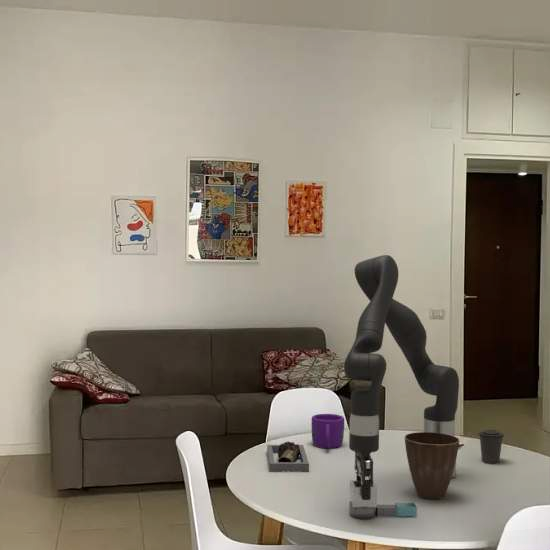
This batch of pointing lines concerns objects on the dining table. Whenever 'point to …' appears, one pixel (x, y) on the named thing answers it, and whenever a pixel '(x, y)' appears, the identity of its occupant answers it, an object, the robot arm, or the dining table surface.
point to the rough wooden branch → (288, 452)
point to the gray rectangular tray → (287, 465)
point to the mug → (327, 430)
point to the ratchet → (382, 510)
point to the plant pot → (431, 462)
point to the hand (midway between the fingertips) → (363, 494)
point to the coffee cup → (490, 446)
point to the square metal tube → (356, 495)
